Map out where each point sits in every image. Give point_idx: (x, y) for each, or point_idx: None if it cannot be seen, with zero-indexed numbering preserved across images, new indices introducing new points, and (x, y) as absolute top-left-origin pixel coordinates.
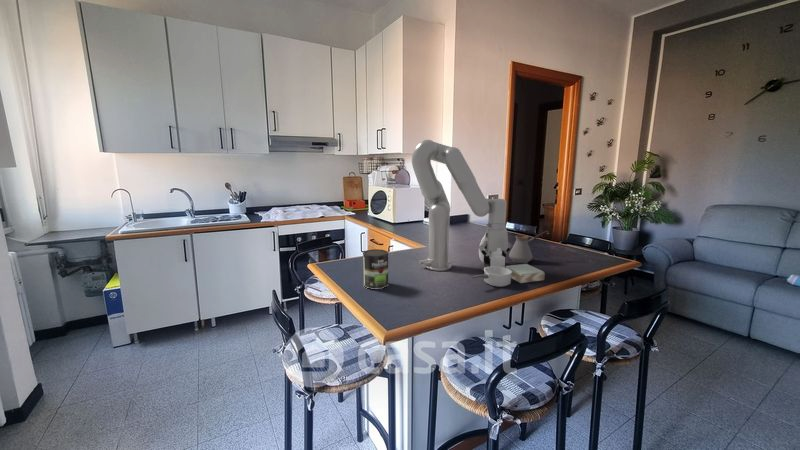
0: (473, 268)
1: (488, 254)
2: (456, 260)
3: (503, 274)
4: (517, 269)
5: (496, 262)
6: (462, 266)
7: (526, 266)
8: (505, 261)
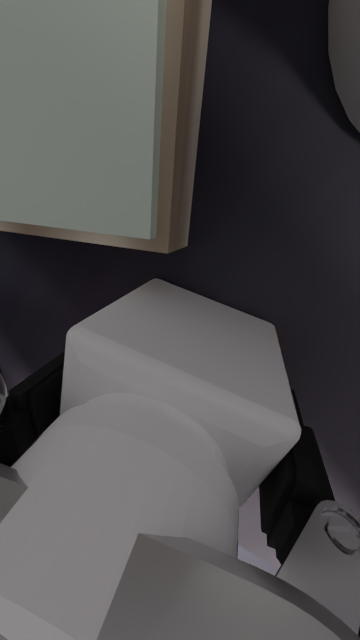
0: None
1: (310, 526)
2: (277, 560)
3: (351, 32)
4: (86, 13)
5: (209, 344)
6: None
7: None
8: None
